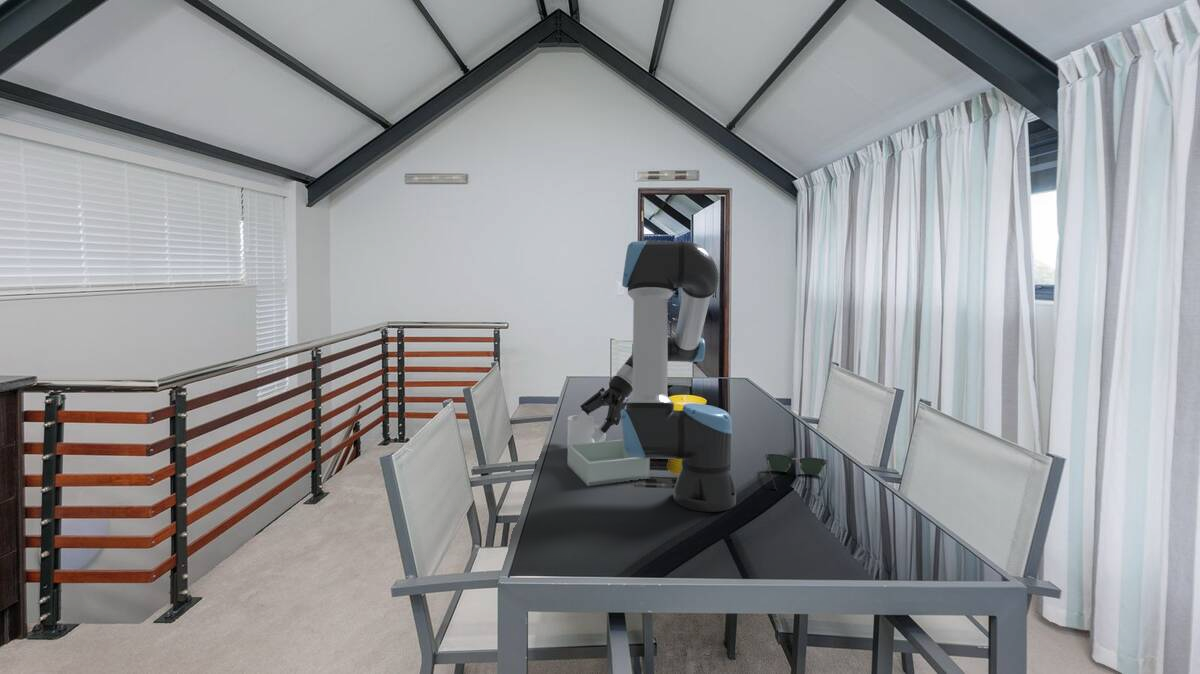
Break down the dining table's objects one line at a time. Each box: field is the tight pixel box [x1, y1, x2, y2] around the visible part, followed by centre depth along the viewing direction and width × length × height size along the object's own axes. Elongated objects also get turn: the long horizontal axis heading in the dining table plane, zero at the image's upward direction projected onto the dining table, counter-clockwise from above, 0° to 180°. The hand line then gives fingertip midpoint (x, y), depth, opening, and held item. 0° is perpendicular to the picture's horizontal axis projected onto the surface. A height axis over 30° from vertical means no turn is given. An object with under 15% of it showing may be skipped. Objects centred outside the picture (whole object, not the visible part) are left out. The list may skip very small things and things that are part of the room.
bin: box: [566, 438, 651, 487], centre depth 164 cm, size 18×18×6 cm
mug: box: [566, 414, 607, 448], centre depth 182 cm, size 12×8×10 cm
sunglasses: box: [765, 453, 828, 496], centre depth 158 cm, size 16×17×5 cm
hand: (583, 434), depth 182 cm, fingers open, 13 cm apart
